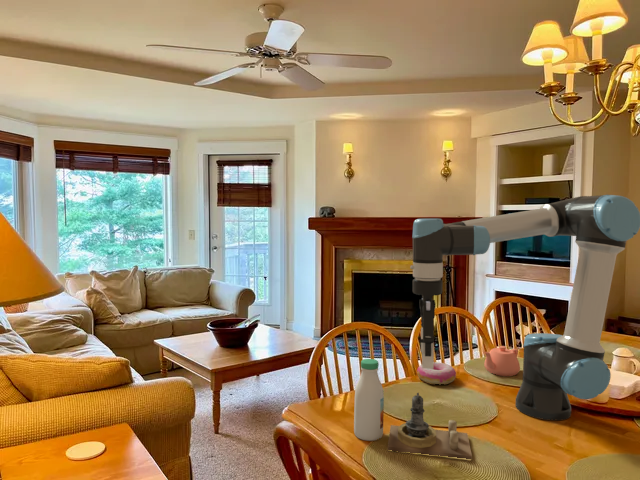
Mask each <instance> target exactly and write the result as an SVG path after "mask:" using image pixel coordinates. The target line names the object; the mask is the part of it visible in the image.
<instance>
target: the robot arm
mask: <svg viewBox="0 0 640 480" xmlns="http://www.w3.org/2000/svg"><path fill="white" fill-rule="evenodd" d="M639 231H640V210H639V207H637V206H636V204H635V202H634V201H633V200H632V199H630V198H628V197H626V196H622V195H617V194H616V195H615V194H603V195H601V194H600V195H590V196H589V195H582V196H576V197H572V198H568V199H564V200H559V201H555V202H551V203H545V204H543V205H541V206H540V208H537V209H530V210H524V211H518V212H512V213H506V214H505V213H504V214H500V215H499V214H498V215H493V216H489V217H488V216H487V217H481V218H475V219H469V220H468V219H467V220H462V221H456V222H452V223H444V220H443V219H442V218H417V219H415V220H414V221H413V225H412V237H411V238H412V265H410V267H409V268H410V269H411V270H412V277H413V278H414V279H412V293H413V294H414V295H417V296H421V299H419V312H420V318H421V319H420V323H421V324H420V326H421V328H420V339H419V343H420V352H421V360H422V361H421V365H422V368H425V369H433V364H434V358H435V357H434V354H435V353H434V352H435V351H434V347H435V346H434V343H435V338H434V337H435V335H434V333H435V331H434V330H435V329H434V319H435V317H436V316H435V315H436V311H435V310H436V300H435V299H433V296H440V295H441V294H442V293H443V279H442V278H443V276H444V274H443V273H444V263H443V262H444V260H443V256H455V255H456V256H471V255H472V256H476V255H484V254H485V253H487V252H488V251H489V250H490V249H489V248H490V245H491V244H493V243H499V242H504V241H511V240H518V239H522V238H523V239H524V238H529V237H536V236H542V235H545V236H547V237H549V238H550V237H552V238H553V237H556V236H558V237H559V236H566V237H568V236H570V237H575V241H574V243H575V244H576V245H577V247H578V248H579V254H578V259H577V262H576V263H577V265H576V269H575V275H574V280H573V285H572V292H571V296H570V301H569V305H568V312H567V316H566V322H565V326H564V327H565V328H564V332H563V335H562V334H557V333H556V334H555V333H546V332H545V333H542V332H541V333H538V332H537V333H529V334H527V335H525V337H524V341H523V342H524V343H523V346H522V347H523V360H522V361H523V363H522V365H523V366H522V382H521V385H520V387H519V389H518V391H517V394H516V397H515V408H516V409H517V410H518V411H519V412H521V413H523V414H525V415H527V416H530V417H532V418H534V419H535V418H537V419H539V420H540V419H541V420H545V421H546V420H547V421H563V420H568V419H569V418H570V417H571V416H572V406H571V403H570V400H569V396H573V397H575V398H577V399H579V400H591V399H594V398H597V397H598V396H599V395H601V394H603V393H604V391H606V389H608V386H609V384H610V382H611V378H612V377H611V376H612V375H611V370H610V368H609V365H608V364H607V363H605V360H604V357H605V352H606V350H605V349H604V347H603V346H602V345H601V343H600V342H601V339H602V337H601V336H602V333H603V328H604V327H603V326H604V323H605V322H604V321H605V316H606V313H607V307H608V302H609V301H608V300H609V297H610V291H611V285H612V282H613V276H614V271H615V266H616V265H615V264H616V261H617V255H618V254H619V253H621V252H623V251H624V250H626V244H627V241H629V240H631V239H632V238H634V236H635V235H636V236H637V234H638V232H639ZM568 395H569V396H568Z"/></svg>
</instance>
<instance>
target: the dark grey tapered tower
mask: <svg viewBox="0 0 640 480" xmlns="http://www.w3.org/2000/svg"><path fill="white" fill-rule="evenodd" d="M419 393H420V392H417V393H416V395H414V396H413V397H412V400H411V408H410V412H411V418H410V419H409V420H406V421H405V423H406V426H407V430H408V432H409V433H410V434H408V436H411V437H415V438H425V437H426V436H425V435H424V434H426V432H427V429H428V428H429V426H430V425H429V424H428V422H426V421H425V420H424V413H425V411H426V410H425V409H424V398H423V397H422V396H421V395H420V394H419Z"/></svg>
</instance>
